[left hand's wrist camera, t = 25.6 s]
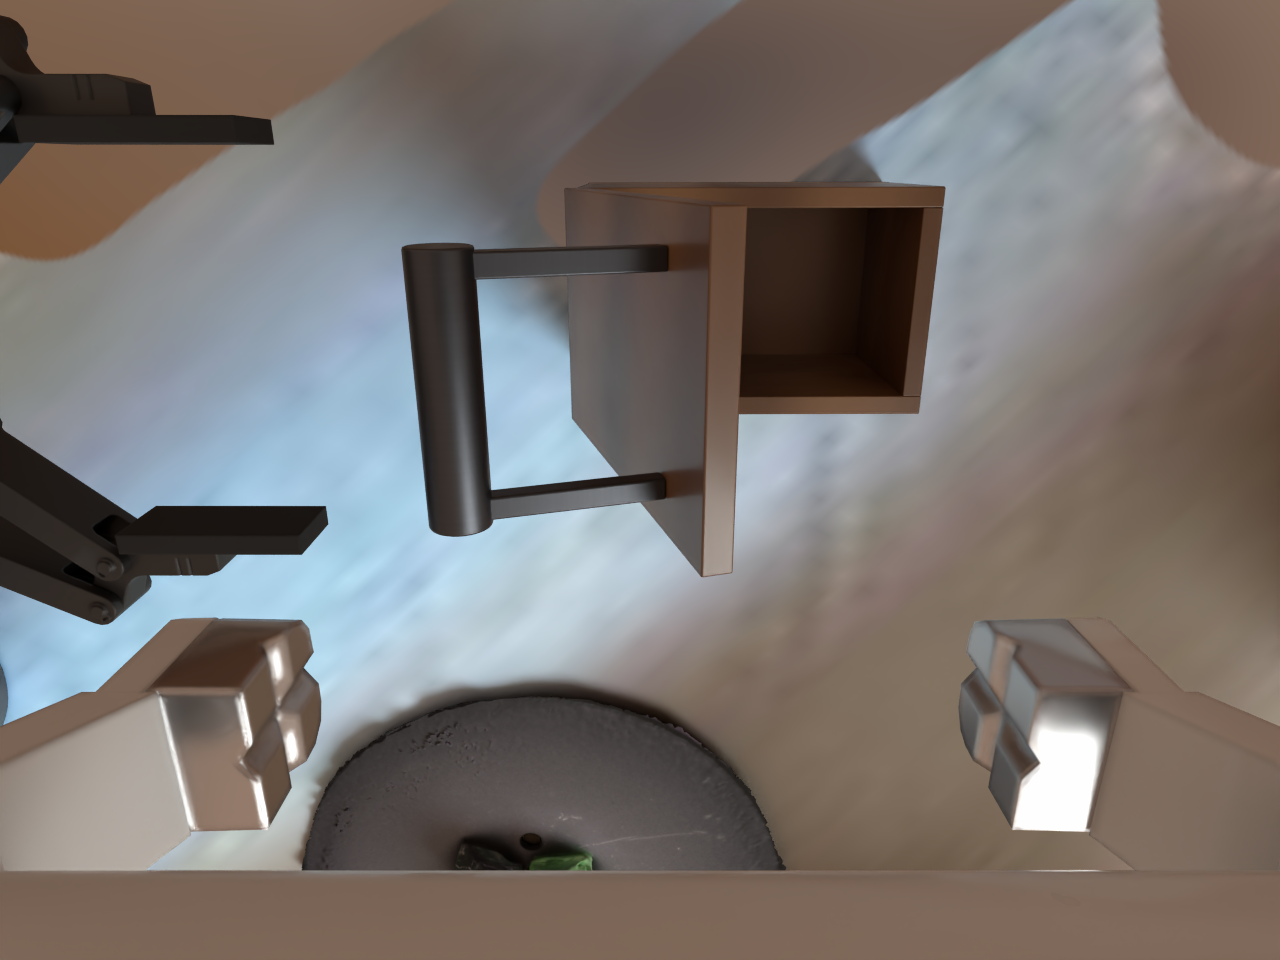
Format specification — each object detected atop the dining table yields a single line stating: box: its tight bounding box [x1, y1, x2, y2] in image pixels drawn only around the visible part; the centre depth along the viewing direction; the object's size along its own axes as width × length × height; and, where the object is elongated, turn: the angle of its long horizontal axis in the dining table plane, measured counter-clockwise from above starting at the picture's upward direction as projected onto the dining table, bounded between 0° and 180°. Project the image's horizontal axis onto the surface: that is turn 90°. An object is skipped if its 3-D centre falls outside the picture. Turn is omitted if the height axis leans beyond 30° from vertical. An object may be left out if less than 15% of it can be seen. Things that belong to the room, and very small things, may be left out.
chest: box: [578, 182, 945, 414], centre depth 41 cm, size 16×10×10 cm, turn 90°
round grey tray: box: [302, 696, 786, 871], centre depth 58 cm, size 35×35×9 cm
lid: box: [401, 188, 747, 577], centre depth 28 cm, size 16×10×8 cm
